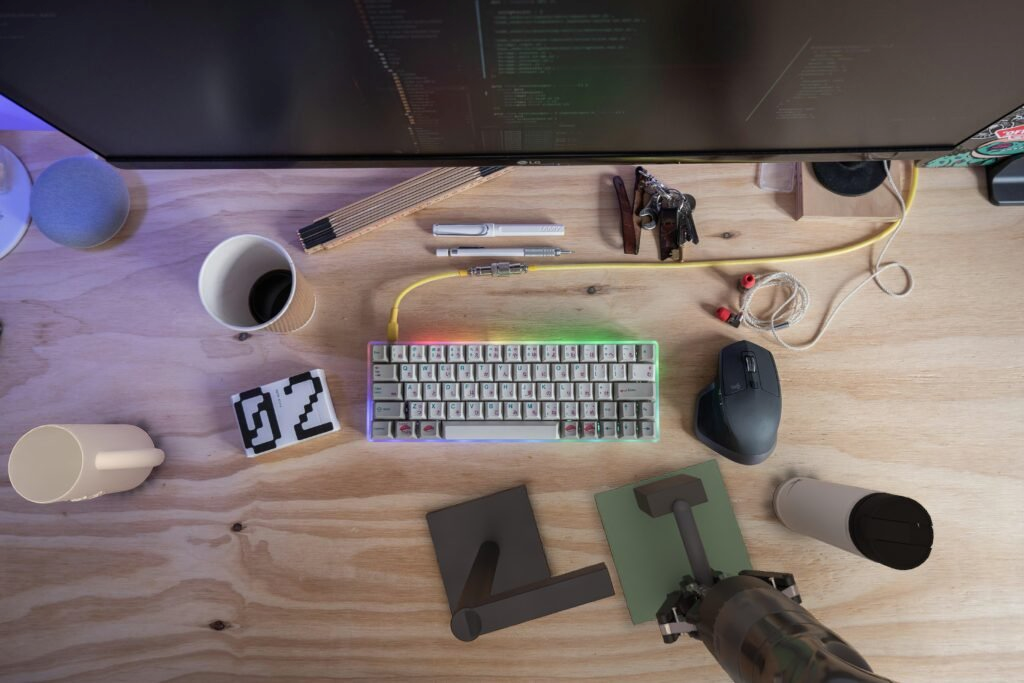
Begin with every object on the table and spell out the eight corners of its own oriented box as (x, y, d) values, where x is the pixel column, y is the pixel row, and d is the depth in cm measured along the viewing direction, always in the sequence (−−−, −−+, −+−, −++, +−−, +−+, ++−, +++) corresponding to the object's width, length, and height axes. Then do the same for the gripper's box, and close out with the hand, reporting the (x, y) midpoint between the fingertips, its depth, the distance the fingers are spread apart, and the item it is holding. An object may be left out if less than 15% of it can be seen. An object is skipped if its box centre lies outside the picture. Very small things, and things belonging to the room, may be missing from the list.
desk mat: (758, 586, 69) (759, 587, 68) (633, 624, 69) (633, 625, 68) (715, 459, 71) (716, 459, 71) (594, 495, 71) (594, 495, 70)
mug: (187, 490, 72) (120, 503, 60) (89, 494, 72) (3, 507, 61) (189, 421, 73) (124, 421, 61) (93, 425, 74) (10, 425, 62)
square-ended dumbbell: (724, 600, 67) (753, 625, 58) (672, 616, 66) (694, 643, 58) (682, 473, 69) (705, 479, 60) (632, 488, 68) (648, 497, 60)
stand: (595, 573, 70) (637, 665, 43) (454, 615, 69) (408, 734, 43) (565, 472, 71) (587, 500, 45) (427, 512, 71) (366, 565, 44)
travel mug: (771, 472, 71) (866, 490, 51) (828, 480, 70) (945, 501, 51) (767, 526, 70) (861, 566, 50) (824, 535, 69) (942, 578, 50)
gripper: (693, 718, 45) (647, 637, 62) (868, 664, 45) (774, 598, 62) (661, 616, 46) (625, 564, 63) (832, 564, 46) (750, 526, 63)
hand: (699, 581), depth 63 cm, fingers closed on square-ended dumbbell
